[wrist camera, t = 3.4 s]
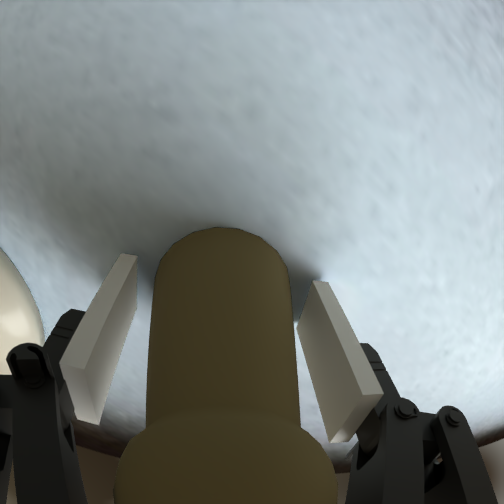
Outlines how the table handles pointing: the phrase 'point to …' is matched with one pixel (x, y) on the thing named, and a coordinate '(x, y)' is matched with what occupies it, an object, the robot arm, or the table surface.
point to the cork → (223, 384)
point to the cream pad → (16, 313)
